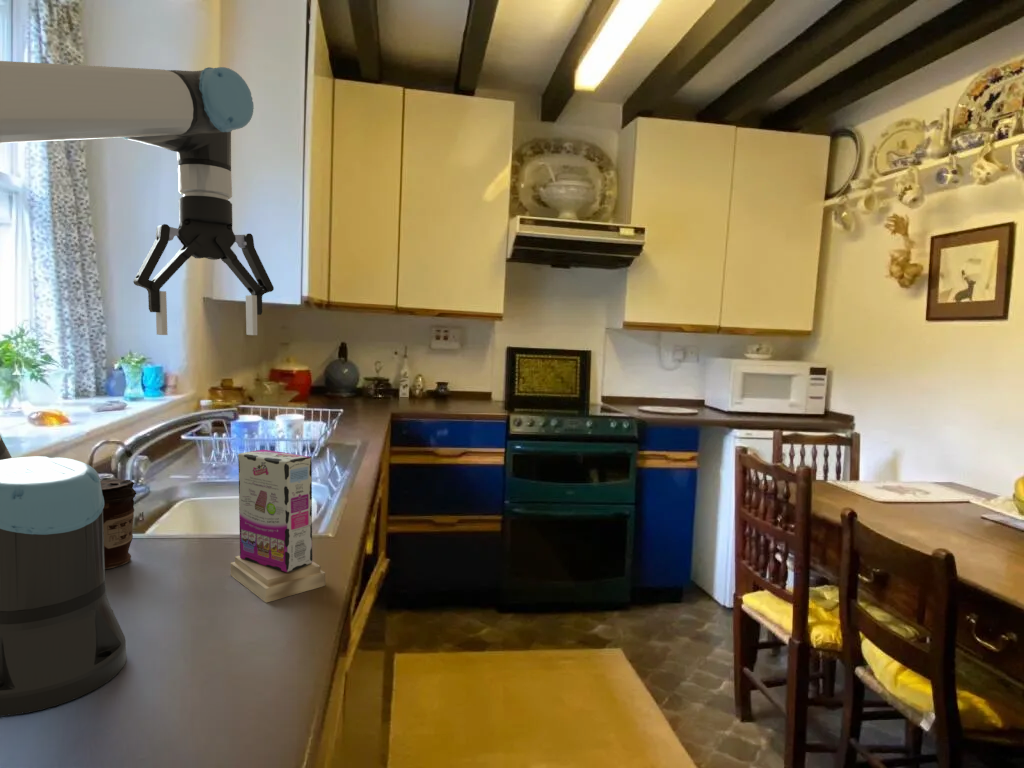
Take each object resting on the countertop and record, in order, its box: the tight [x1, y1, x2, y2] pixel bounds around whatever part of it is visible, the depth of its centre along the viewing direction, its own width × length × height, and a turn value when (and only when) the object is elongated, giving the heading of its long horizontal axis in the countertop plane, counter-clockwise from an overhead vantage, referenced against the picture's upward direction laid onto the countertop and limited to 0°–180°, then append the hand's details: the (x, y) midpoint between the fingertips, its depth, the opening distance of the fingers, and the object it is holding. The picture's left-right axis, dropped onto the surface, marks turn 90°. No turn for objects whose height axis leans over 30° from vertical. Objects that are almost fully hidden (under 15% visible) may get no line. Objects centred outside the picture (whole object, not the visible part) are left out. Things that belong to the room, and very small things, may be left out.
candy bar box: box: [237, 449, 313, 573], centre depth 97 cm, size 11×5×16 cm, turn 59°
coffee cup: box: [100, 478, 137, 570], centre depth 103 cm, size 9×8×13 cm
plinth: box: [229, 555, 326, 603], centre depth 98 cm, size 9×13×3 cm
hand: (209, 335), depth 102 cm, fingers open, 13 cm apart
